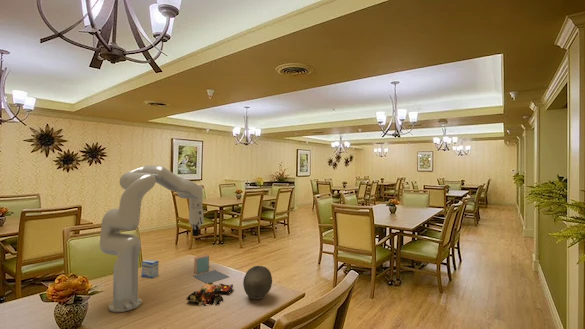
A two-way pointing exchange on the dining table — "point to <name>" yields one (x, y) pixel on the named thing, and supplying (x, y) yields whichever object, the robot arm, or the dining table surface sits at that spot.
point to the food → (209, 294)
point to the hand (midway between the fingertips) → (195, 235)
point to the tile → (201, 264)
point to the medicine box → (150, 268)
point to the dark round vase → (257, 282)
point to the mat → (211, 276)
